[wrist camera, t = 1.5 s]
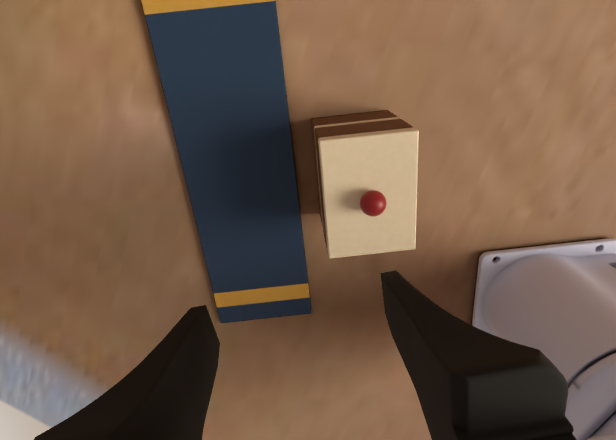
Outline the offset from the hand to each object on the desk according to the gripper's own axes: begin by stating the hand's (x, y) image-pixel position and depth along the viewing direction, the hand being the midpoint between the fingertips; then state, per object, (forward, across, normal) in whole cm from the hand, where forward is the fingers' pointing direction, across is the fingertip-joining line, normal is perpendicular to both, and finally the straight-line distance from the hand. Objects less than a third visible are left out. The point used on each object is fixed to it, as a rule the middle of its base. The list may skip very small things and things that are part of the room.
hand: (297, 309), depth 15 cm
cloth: (+10, +3, -4) cm, 10 cm away
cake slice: (+10, -4, -2) cm, 11 cm away
